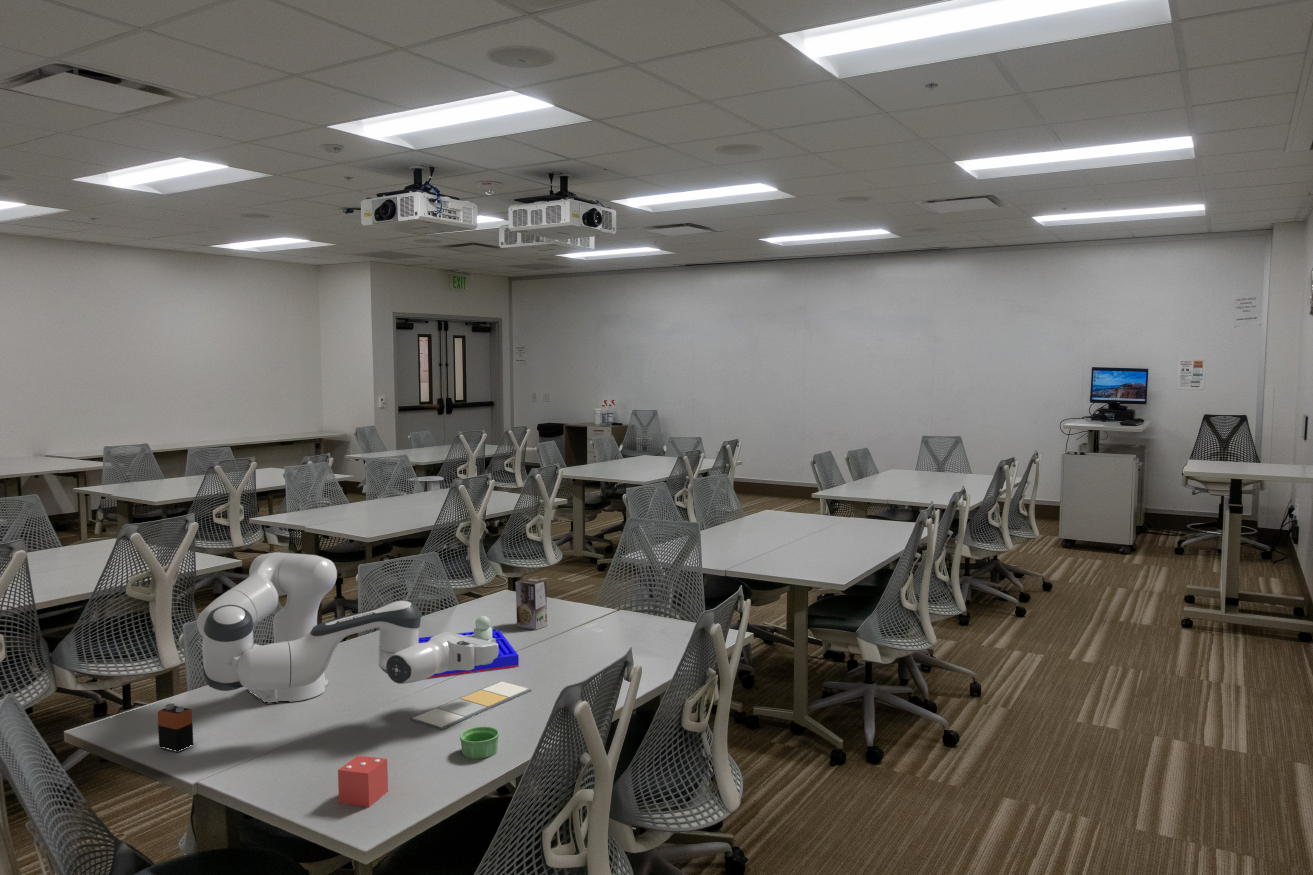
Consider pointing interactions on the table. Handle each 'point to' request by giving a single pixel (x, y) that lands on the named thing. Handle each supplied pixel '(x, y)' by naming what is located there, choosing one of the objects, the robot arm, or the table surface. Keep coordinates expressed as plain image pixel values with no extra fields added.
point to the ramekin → (479, 742)
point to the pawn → (483, 630)
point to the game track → (470, 705)
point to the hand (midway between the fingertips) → (485, 638)
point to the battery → (175, 727)
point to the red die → (363, 781)
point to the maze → (504, 659)
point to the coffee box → (531, 603)
